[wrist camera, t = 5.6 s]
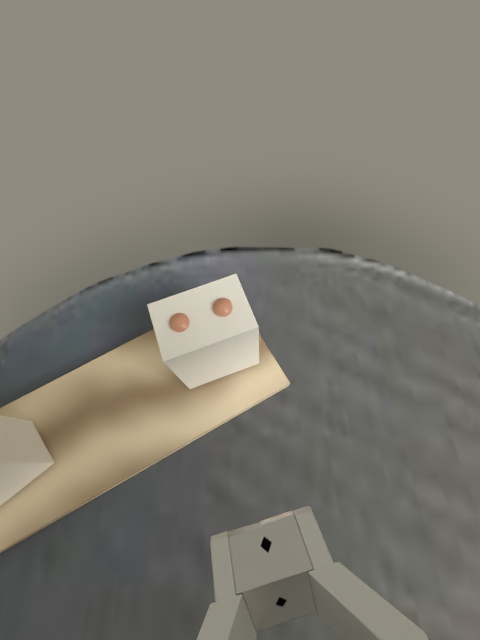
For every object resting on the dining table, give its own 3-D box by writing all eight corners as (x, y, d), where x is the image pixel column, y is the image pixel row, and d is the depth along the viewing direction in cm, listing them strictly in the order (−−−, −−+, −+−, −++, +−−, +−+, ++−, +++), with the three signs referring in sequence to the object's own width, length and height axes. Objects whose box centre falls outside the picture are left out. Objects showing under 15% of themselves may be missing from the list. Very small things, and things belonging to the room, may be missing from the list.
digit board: (288, 385, 28) (289, 383, 27) (-18, 563, 24) (-29, 567, 23) (231, 293, 32) (231, 288, 31) (-42, 436, 28) (-53, 435, 27)
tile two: (259, 363, 27) (258, 325, 20) (189, 389, 27) (162, 360, 19) (241, 319, 29) (234, 268, 22) (175, 342, 29) (145, 299, 21)
